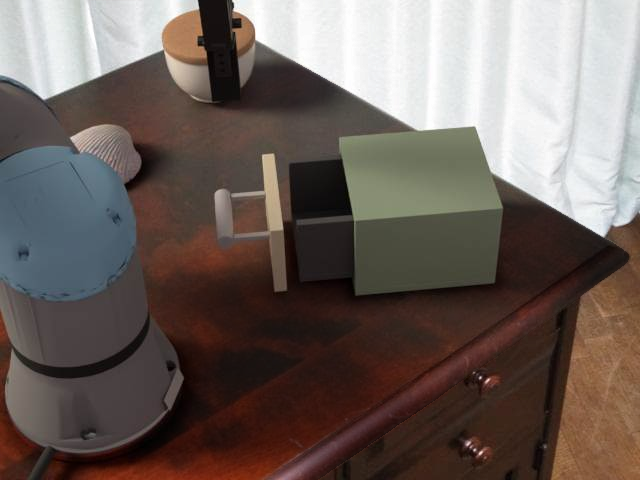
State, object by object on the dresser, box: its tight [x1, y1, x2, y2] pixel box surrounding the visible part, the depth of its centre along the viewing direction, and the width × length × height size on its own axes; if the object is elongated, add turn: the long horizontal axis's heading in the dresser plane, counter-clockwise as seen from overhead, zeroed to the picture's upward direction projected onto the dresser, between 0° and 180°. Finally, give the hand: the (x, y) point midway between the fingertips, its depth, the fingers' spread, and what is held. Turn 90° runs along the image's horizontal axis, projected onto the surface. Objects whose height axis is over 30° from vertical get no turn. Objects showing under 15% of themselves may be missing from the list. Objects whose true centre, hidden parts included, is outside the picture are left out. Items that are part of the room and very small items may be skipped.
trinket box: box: [160, 8, 256, 104], centre depth 133 cm, size 11×11×9 cm
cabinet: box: [338, 125, 504, 296], centre depth 112 cm, size 14×13×10 cm
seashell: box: [69, 123, 142, 185], centre depth 125 cm, size 10×6×10 cm
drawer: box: [213, 153, 354, 293], centre depth 111 cm, size 18×11×8 cm, turn 96°
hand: (226, 96), depth 107 cm, fingers closed
